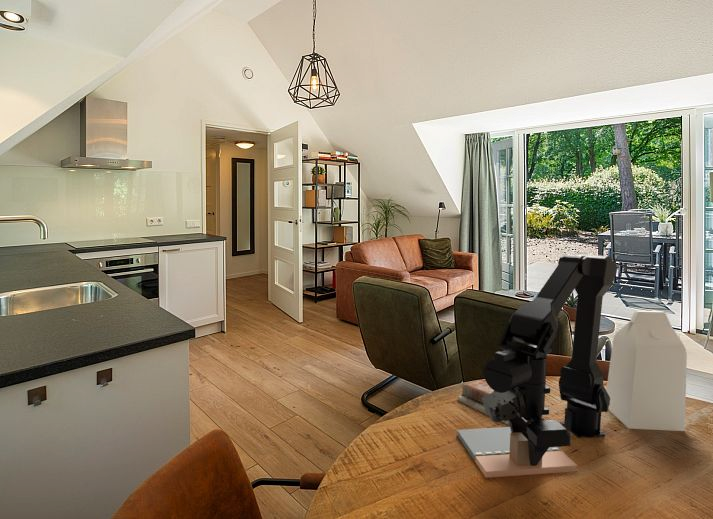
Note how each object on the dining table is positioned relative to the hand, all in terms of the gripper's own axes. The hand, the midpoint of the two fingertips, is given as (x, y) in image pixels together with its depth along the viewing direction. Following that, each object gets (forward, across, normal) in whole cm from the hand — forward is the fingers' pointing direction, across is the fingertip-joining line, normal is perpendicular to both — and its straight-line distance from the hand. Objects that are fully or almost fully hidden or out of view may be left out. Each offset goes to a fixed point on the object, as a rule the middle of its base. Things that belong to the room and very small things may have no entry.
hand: (525, 456), depth 81 cm
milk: (+2, -16, +38) cm, 41 cm away
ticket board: (+2, -8, 0) cm, 8 cm away
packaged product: (+3, -24, +5) cm, 25 cm away
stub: (+2, 0, 0) cm, 2 cm away
